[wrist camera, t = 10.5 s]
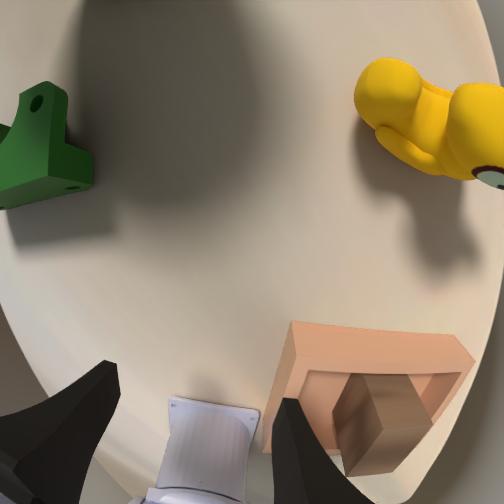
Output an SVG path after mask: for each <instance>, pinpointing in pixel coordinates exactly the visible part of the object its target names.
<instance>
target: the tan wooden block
mask: <svg viewBox="0 0 504 504" xmlns="http://www.w3.org/2000/svg"><path fill="white" fill-rule="evenodd" d="M332 414H333V419H334V423H335V428H336V432H337V437H338V442H339V446H340V451H341V456H342V461H343V466H344V471H345V476H346V477H355V476H366V475H375V474H383V473H390V472H393V471H394V470H395V469H396V468H397V467H398V466H399V465H400V464H401V462H402V461H403V460H404V459H405V458H406V457H407V456H408V455H409V454H410V452H411V451H412V450H413V449H414V448H415V447H416V445H417V444H418V443H419V442H420V441H421V439H422V438H423V437H424V436H425V435H426V433H427V432H428V431H429V430H430V428H431V427H432V426H433V422H432V420H431V418H430V416H429V414H428V412H427V410H426V408H425V407H424V405H423V403H422V401H421V399H420V397H419V395H418V393H417V391H416V389H415V388H414V386H413V384H412V382H411V380H410V378H409V376H408V375H407V374H373V373H351V374H350V376H349V378H348V380H347V382H346V385H345V387H344V389H343V391H342V393H341V395H340V397H339V399H338V401H337V403H336V405H335V407H334V408H333V410H332Z"/></svg>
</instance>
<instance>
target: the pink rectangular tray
mask: <svg viewBox="0 0 504 504" xmlns="http://www.w3.org/2000/svg"><path fill="white" fill-rule="evenodd" d="M475 362H476V361H475V360H474V359H473V357H472V356H471V355H470V354H469V352H468V351H467V350H466V349H465V348H464V346H463V345H462V344H461V343H460V342H459V341H458V339H457V338H456V337H455V336H454V335H442V334H423V333H407V332H393V331H380V330H369V329H358V328H348V327H339V326H329V325H321V324H312V323H304V322H296V321H291V323H290V327H289V331H288V335H287V338H286V342H285V346H284V349H283V353H282V357H281V360H280V364H279V367H278V371H277V374H276V378H275V381H274V384H273V388H272V391H271V394H270V398H269V401H268V404H267V408H266V411H265V414H264V417H263V453H268V454H272V451H271V437H272V425H273V422H274V419H275V417H276V414H277V412H278V409H279V407H280V404H281V401H282V399H283V397H285V398H296V399H298V400H299V402H300V405H301V407H302V409H303V412H304V414H305V416H306V418H307V420H308V422H309V424H310V426H311V428H312V430H313V431H314V433H315V435H316V437H317V439H318V440H319V442H320V444H321V445H322V447H323V448H324V450H325V451H326V453H327V454H328V455H341V451H340V446H339V442H338V437H337V432H336V428H335V423H334V419H333V414H332V410H333V408H334V407H335V405H336V403H337V401H338V399H339V397H340V395H341V393H342V391H343V389H344V387H345V385H346V382H347V380H348V378H349V376H350V374H351V373H373V374H407V375H408V376H409V378H410V380H411V382H412V384H413V386H414V388H415V389H416V391H417V393H418V395H419V397H420V399H421V401H422V403H423V405H424V407H425V408H426V410H427V412H428V414H429V416H430V418H431V420H432V422H433V425H434V424H435V423H436V421H437V420H438V419H439V417H440V416H441V415H442V413H443V412H444V410H445V409H446V408H447V406H448V405H449V403H450V402H451V400H452V399H453V397H454V396H455V394H456V393H457V391H458V390H459V388H460V387H461V385H462V384H463V382H464V380H465V379H466V377H467V375H468V374H469V372H470V370H471V369H472V367H473V365H474V363H475ZM432 427H433V426H432ZM432 427H431V428H432ZM431 428H430V429H431ZM429 431H430V430H429ZM429 431H428V432H429ZM428 432H427V433H428ZM427 433H426V434H427ZM425 436H426V435H425ZM425 436H424V437H425ZM424 437H423V438H424ZM423 438H422V439H423ZM422 439H421V441H422ZM421 441H420V442H421ZM420 442H419V443H420ZM419 443H418V444H419ZM418 444H417V445H418ZM417 445H416V447H417ZM416 447H415V448H416Z"/></svg>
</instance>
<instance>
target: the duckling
mask: <svg viewBox="0 0 504 504" xmlns="http://www.w3.org/2000/svg"><path fill="white" fill-rule="evenodd" d="M354 103H355V107H356V109H357V111H358V113H359V115H360V116H361V117H362V118H363V120H364V121H365V122H366V123H367V124H368V125H370V126H371V127H372V128H373V129H375V130H376V131H375V136H376V138H377V140H378V141H379V142H380V143H381V144H382V146H383V147H385V148H386V149H387V150H388V151H389V152H391V153H392V154H393V155H395V156H396V157H397V158H399V159H400V160H402V161H404V162H405V163H407V164H409V165H411V166H412V167H414V168H416V169H418V170H420V171H422V172H424V173H427V174H431V175H436V176H440V175H446V176H448V177H451V178H454V179H458V180H474V179H479V180H480V181H482V182H484V183H486V184H488V185H490V186H492V187H495V188H498V189H501V190H504V88H503V87H501V86H498V85H494V84H489V83H467V84H463V85H460V86H459V87H458V88H457V89H456V90H455V91H454V93H453V92H451V91H448V90H445V89H442V88H439V87H436V86H434V85H432V84H430V83H428V82H427V81H426V80H424V79H423V78H421V77H420V75H419V73H418V72H417V71H416V69H415V68H413V67H412V66H411V65H409V64H407V63H405V62H403V61H400V60H397V59H393V58H381V59H378V60H376V61H374V62H372V63H371V64H369V65H368V66H367V67H366V68H365V69H364V71H363V72H362V73H361V75H360V77H359V79H358V82H357V85H356V88H355V92H354Z"/></svg>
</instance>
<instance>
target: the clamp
mask: <svg viewBox="0 0 504 504" xmlns="http://www.w3.org/2000/svg"><path fill="white" fill-rule="evenodd" d="M67 107H68V96H67V93H66V92H65V91H64V90H62V89H61V88H59V87H58V86H56V85H54V84H53V83H51V82H49V81H45V82H42V83H39V84H37V85H35V86H34V87H32V88H30V89H28V90H26V91H24V92H22V93H20V94H19V106H18V110H17V114H16V117H15V120H14V122H13V124H12V127H9V126H6V125H3V124H0V210H6V209H11V208H14V207H18V206H21V205H25V204H29V203H32V202H36V201H40V200H44V199H48V198H52V197H56V196H60V195H65V194H69V193H73V192H78V191H82V190H87V189H90V188H92V187H93V154H92V153H90V152H88V151H85V150H82V149H80V148H77V147H75V146H72V145H69V144H67V143H64V141H65V127H66V116H67Z"/></svg>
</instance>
